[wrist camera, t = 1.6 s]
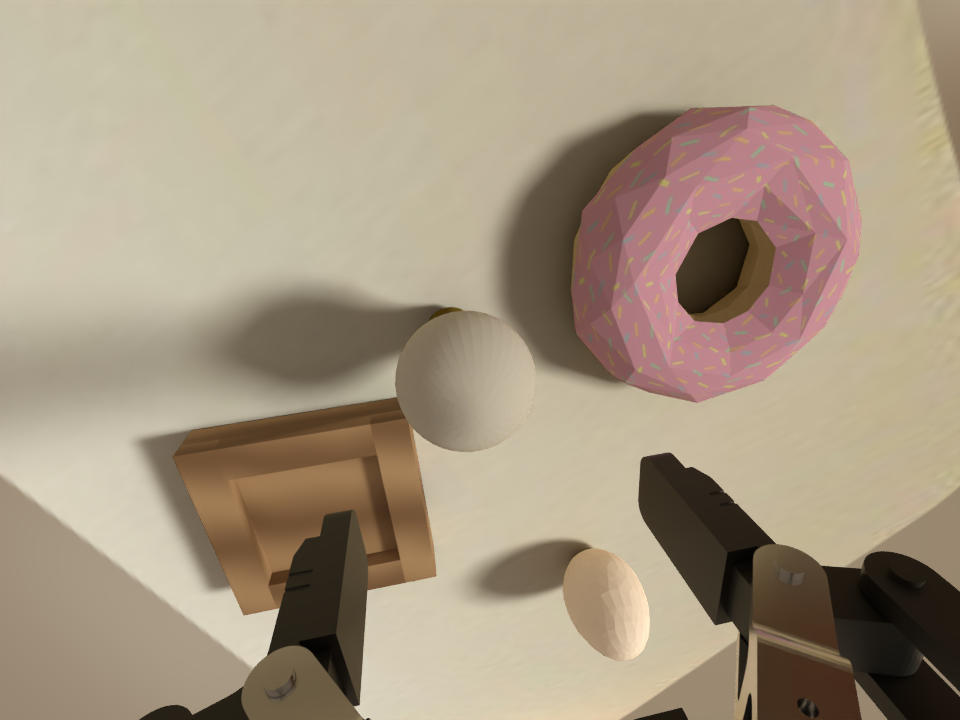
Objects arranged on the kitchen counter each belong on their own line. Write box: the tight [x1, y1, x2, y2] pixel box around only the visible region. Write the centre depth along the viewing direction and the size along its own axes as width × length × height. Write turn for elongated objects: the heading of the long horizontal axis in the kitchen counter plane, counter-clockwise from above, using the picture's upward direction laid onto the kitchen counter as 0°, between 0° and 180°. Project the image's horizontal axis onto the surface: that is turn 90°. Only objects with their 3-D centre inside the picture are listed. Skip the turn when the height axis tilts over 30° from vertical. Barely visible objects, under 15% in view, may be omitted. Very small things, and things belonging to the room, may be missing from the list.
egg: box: [563, 549, 650, 661], centre depth 32 cm, size 5×5×8 cm
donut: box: [571, 105, 862, 403], centre depth 25 cm, size 16×15×5 cm
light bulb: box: [395, 307, 536, 452], centre depth 22 cm, size 6×6×10 cm
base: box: [173, 398, 436, 615], centre depth 28 cm, size 12×12×2 cm
